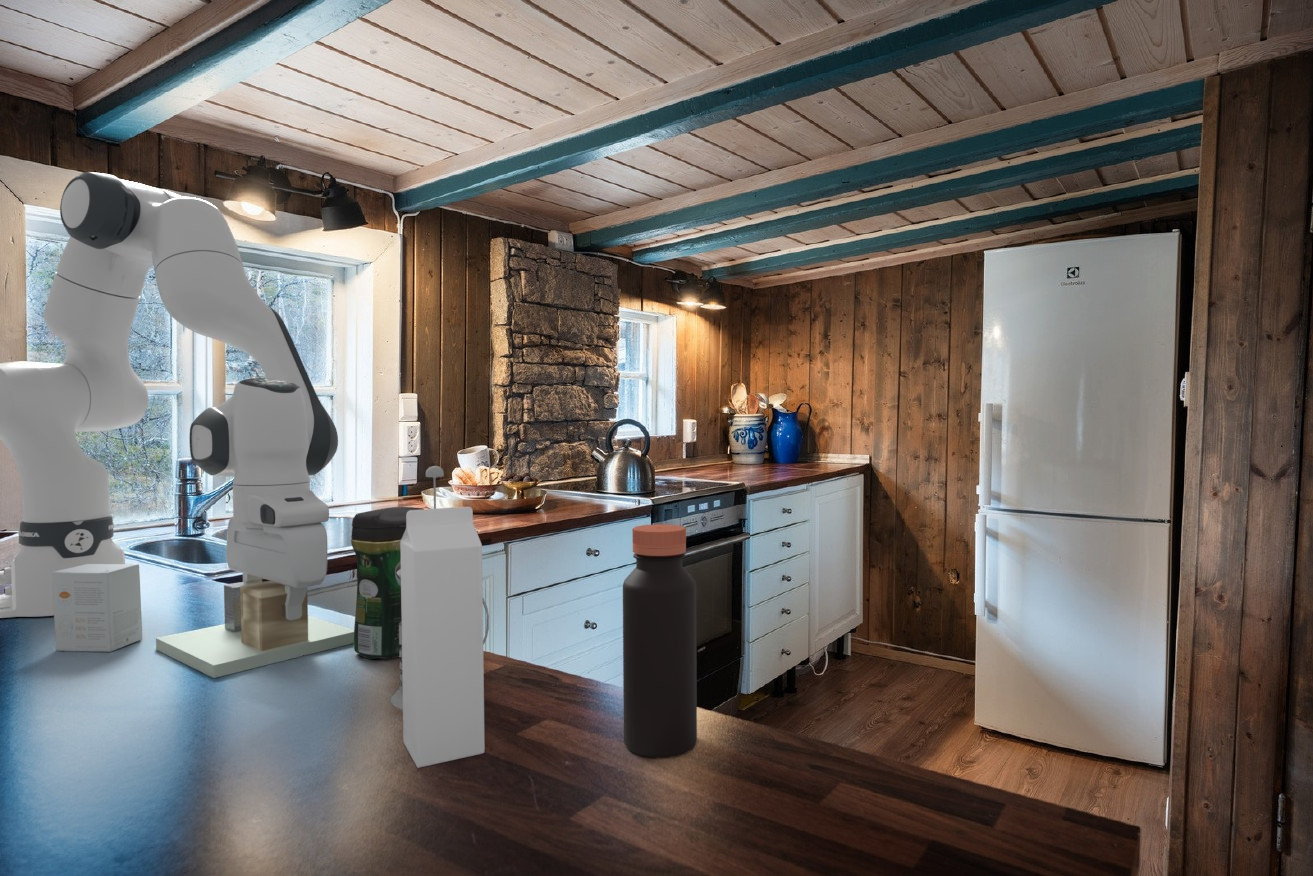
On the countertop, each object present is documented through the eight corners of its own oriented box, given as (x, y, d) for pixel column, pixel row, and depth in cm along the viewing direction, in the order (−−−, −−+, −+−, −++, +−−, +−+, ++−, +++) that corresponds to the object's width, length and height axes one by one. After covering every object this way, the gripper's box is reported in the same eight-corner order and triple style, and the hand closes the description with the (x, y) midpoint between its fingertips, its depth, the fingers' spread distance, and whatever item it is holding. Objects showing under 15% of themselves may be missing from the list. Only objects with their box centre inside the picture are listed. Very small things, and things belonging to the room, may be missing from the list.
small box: (143, 640, 105) (141, 563, 105) (110, 653, 100) (108, 572, 99) (89, 639, 106) (87, 562, 106) (53, 651, 100) (51, 571, 100)
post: (225, 639, 105) (223, 584, 105) (247, 634, 107) (246, 581, 107) (234, 643, 103) (233, 587, 103) (257, 638, 106) (256, 584, 105)
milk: (485, 754, 69) (483, 510, 68) (416, 769, 66) (413, 514, 66) (466, 729, 75) (464, 502, 74) (401, 743, 72) (399, 506, 71)
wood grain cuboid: (241, 642, 99) (240, 585, 98) (286, 632, 103) (285, 578, 103) (262, 651, 95) (261, 592, 95) (308, 640, 100) (307, 583, 99)
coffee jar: (403, 636, 106) (401, 502, 106) (443, 645, 102) (441, 505, 101) (341, 655, 98) (339, 509, 97) (382, 665, 94) (380, 513, 93)
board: (156, 649, 101) (155, 638, 101) (292, 620, 115) (292, 610, 115) (214, 678, 90) (213, 665, 90) (357, 642, 104) (357, 631, 104)
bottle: (645, 723, 76) (644, 521, 75) (708, 736, 73) (708, 525, 72) (609, 750, 70) (608, 530, 69) (677, 766, 67) (676, 535, 66)
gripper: (211, 502, 103) (213, 605, 103) (285, 514, 90) (287, 631, 90) (260, 497, 107) (262, 596, 108) (336, 508, 95) (338, 620, 95)
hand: (274, 612), depth 99 cm, fingers open, 8 cm apart
